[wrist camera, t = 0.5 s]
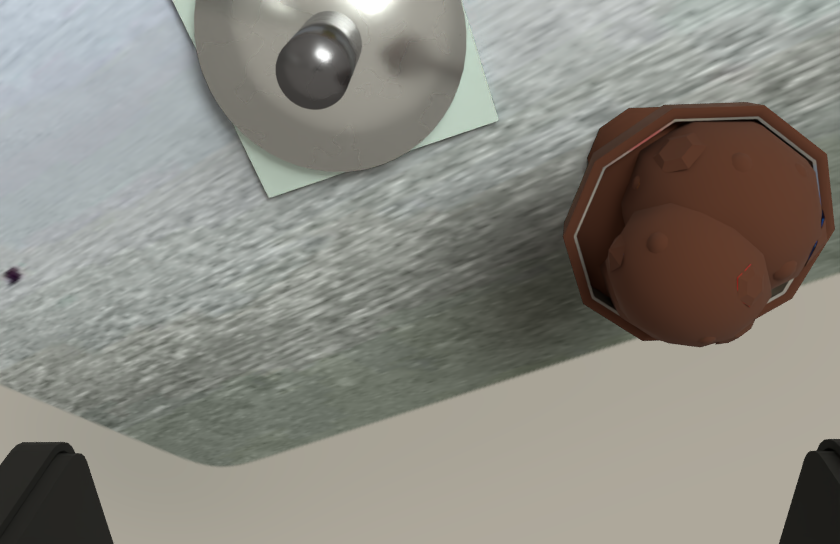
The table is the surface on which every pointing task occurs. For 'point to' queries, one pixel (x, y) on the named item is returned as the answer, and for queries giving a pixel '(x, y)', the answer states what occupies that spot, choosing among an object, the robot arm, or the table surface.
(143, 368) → the table surface
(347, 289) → the table surface
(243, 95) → the lid
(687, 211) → the ice cream bowl
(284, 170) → the mat
